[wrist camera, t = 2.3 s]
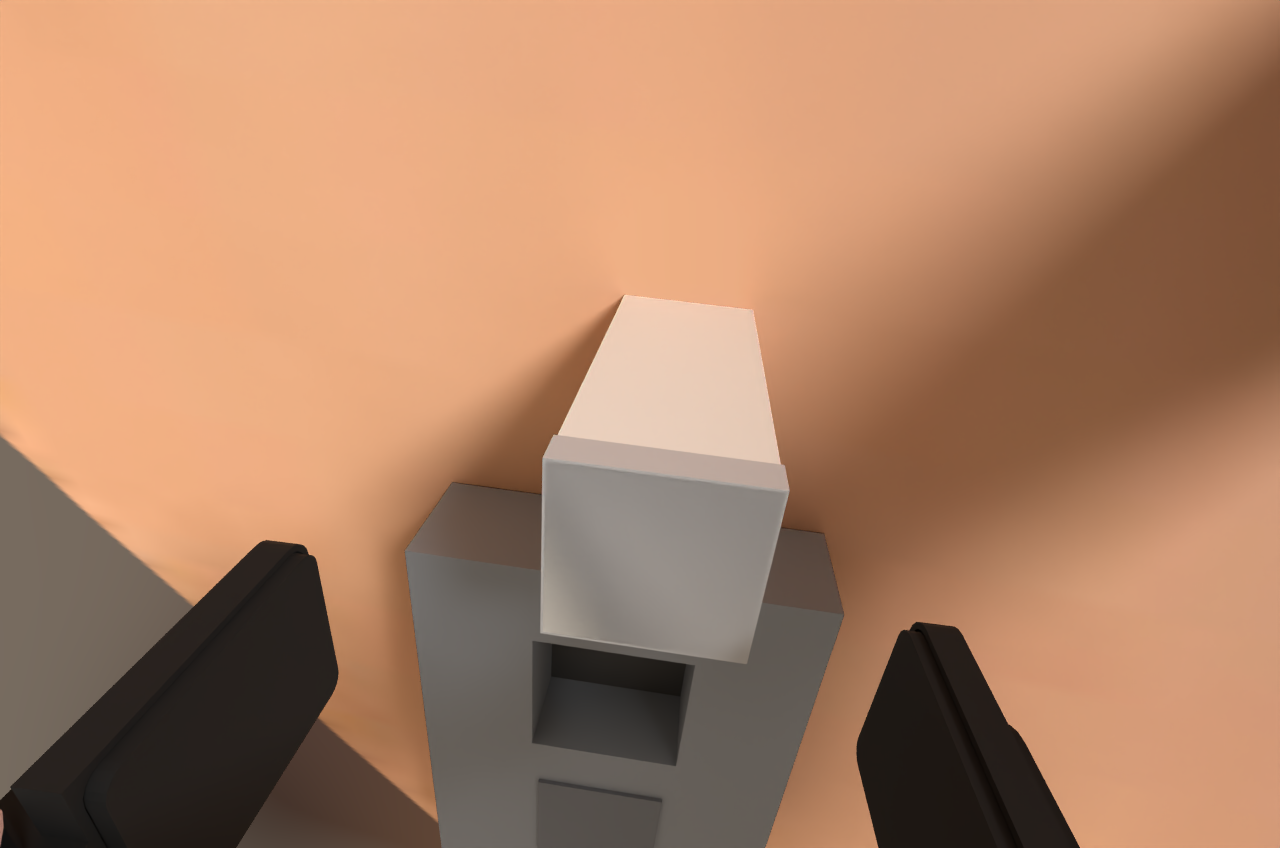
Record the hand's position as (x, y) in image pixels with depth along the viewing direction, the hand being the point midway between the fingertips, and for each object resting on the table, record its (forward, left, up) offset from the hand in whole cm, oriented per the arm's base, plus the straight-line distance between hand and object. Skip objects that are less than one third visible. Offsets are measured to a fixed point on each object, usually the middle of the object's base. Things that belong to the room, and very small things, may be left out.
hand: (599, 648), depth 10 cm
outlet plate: (+15, 0, -12) cm, 19 cm away
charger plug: (0, +1, -12) cm, 12 cm away
